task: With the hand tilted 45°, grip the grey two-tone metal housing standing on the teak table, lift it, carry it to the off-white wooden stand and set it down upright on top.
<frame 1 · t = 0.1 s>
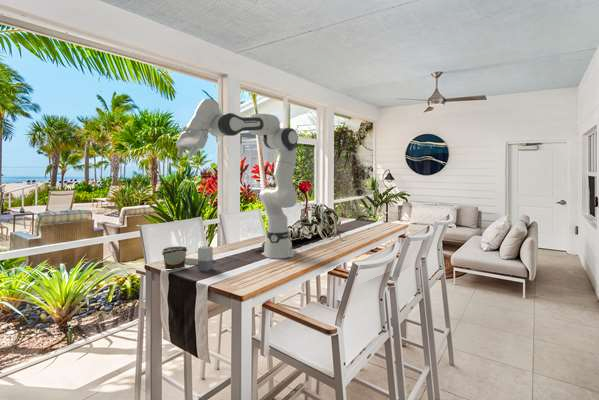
hand: (184, 156, 154), 54 cm above the table, tool tilted 30°, fingers open, 8 cm apart
housing: (205, 269, 170), on the table
food container: (172, 268, 172), on the table
stand: (197, 261, 184), on the table
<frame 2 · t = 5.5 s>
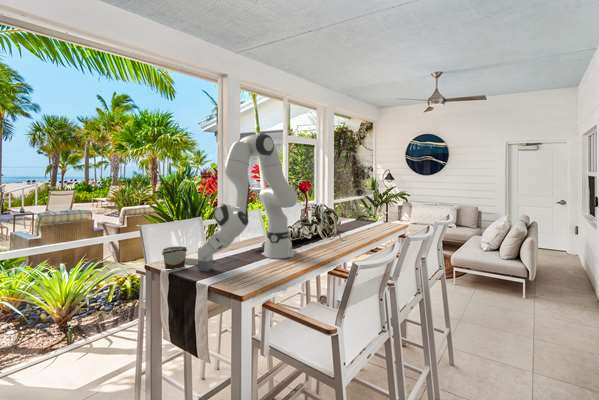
hand: (204, 257, 169), 6 cm above the table, tool tilted 45°, fingers closed on housing, 5 cm apart
housing: (205, 269, 170), on the table, touching gripper
everything else where it was.
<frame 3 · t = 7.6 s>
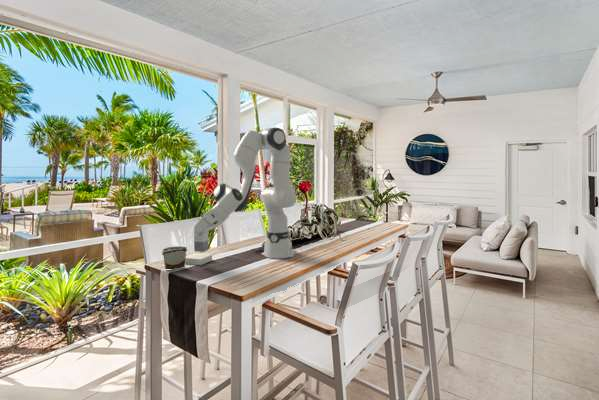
hand: (200, 234, 176), 16 cm above the table, tool tilted 45°, fingers closed on housing, 5 cm apart
housing: (201, 250, 176), point 8 cm above the table, touching gripper
everything else where it was.
when the fingers open (11 cm above the table, at t = 9.6 s): housing stays where it is, resting on stand.
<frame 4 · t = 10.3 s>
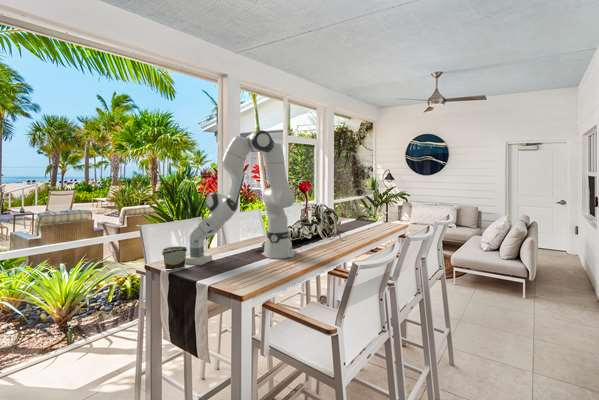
hand: (196, 241, 184), 11 cm above the table, tool tilted 45°, fingers open, 8 cm apart
housing: (197, 256, 184), point 3 cm above the table, touching stand
everything else where it was.
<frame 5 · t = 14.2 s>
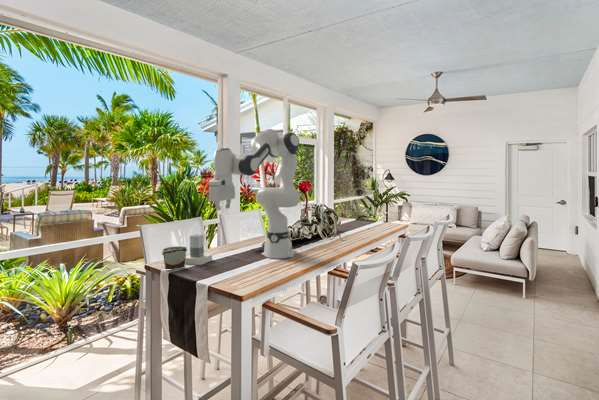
hand: (223, 209, 172), 29 cm above the table, tool pointing down, fingers open, 8 cm apart
nothing on the table moved.
at the end: housing inside the target area on the stand (0.2 cm from its centre), point 3.0 cm above the stand's base; housing tilted 0°; the gripper is holding nothing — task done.
